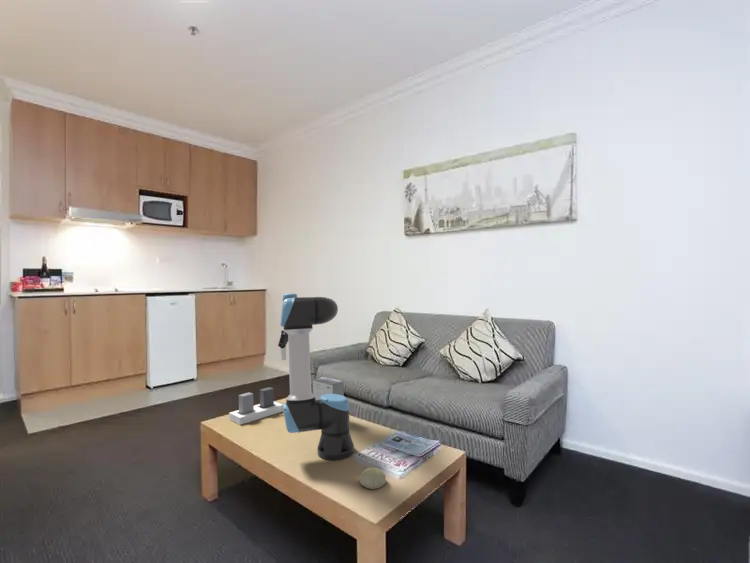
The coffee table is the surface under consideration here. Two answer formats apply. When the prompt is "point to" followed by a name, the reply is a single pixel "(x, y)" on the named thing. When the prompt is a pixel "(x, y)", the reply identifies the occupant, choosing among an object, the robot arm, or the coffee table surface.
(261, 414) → the socket strip
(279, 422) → the coffee table surface
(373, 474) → the sea urchin shell
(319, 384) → the hard drive box
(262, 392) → the grey rectangular block
